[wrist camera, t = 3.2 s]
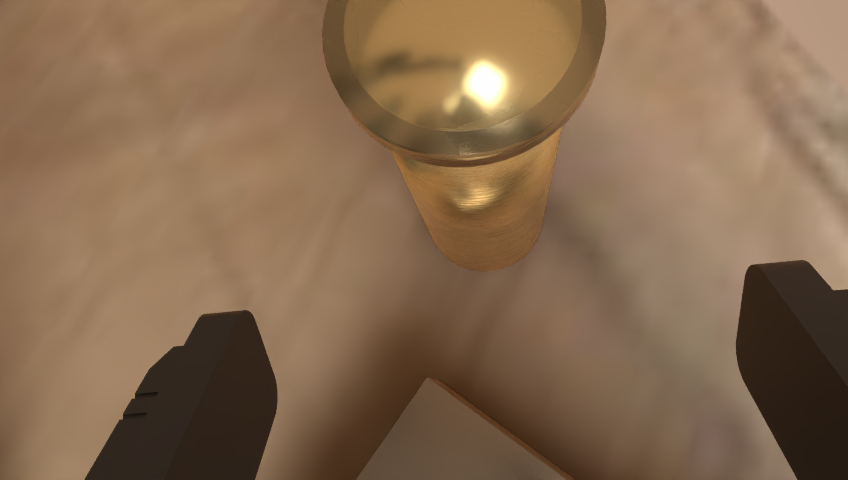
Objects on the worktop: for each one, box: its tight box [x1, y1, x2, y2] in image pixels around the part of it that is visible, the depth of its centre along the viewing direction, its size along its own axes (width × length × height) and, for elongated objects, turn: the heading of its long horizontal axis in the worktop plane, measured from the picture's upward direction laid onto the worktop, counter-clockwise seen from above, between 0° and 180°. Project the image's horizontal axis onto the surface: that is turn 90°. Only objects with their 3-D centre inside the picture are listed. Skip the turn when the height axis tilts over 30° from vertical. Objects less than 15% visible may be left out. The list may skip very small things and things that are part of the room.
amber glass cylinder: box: [322, 0, 606, 271], centre depth 17 cm, size 5×5×12 cm
